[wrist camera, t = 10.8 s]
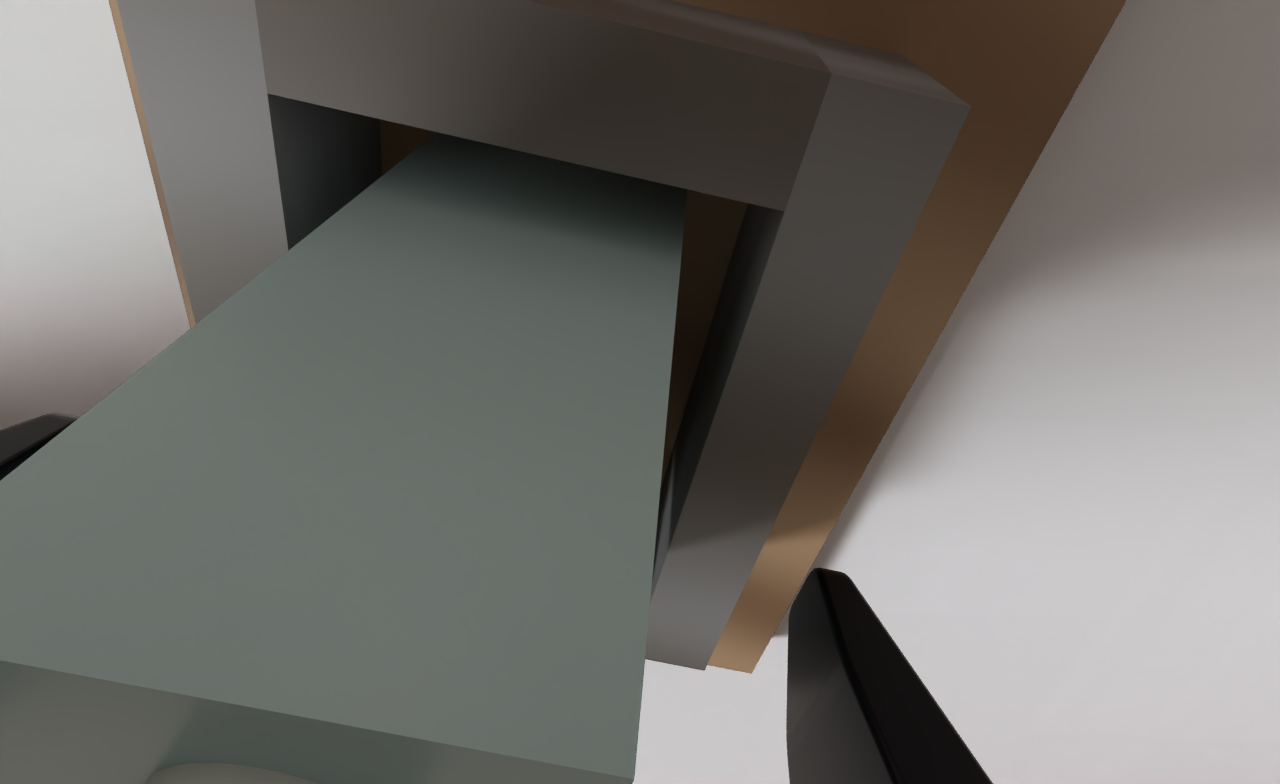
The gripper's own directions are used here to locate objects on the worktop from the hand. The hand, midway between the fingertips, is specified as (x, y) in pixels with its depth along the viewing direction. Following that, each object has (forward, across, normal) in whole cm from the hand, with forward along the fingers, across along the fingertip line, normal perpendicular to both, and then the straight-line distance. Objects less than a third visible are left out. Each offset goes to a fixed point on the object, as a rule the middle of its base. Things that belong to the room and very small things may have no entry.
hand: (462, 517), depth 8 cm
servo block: (+5, 0, 0) cm, 5 cm away
